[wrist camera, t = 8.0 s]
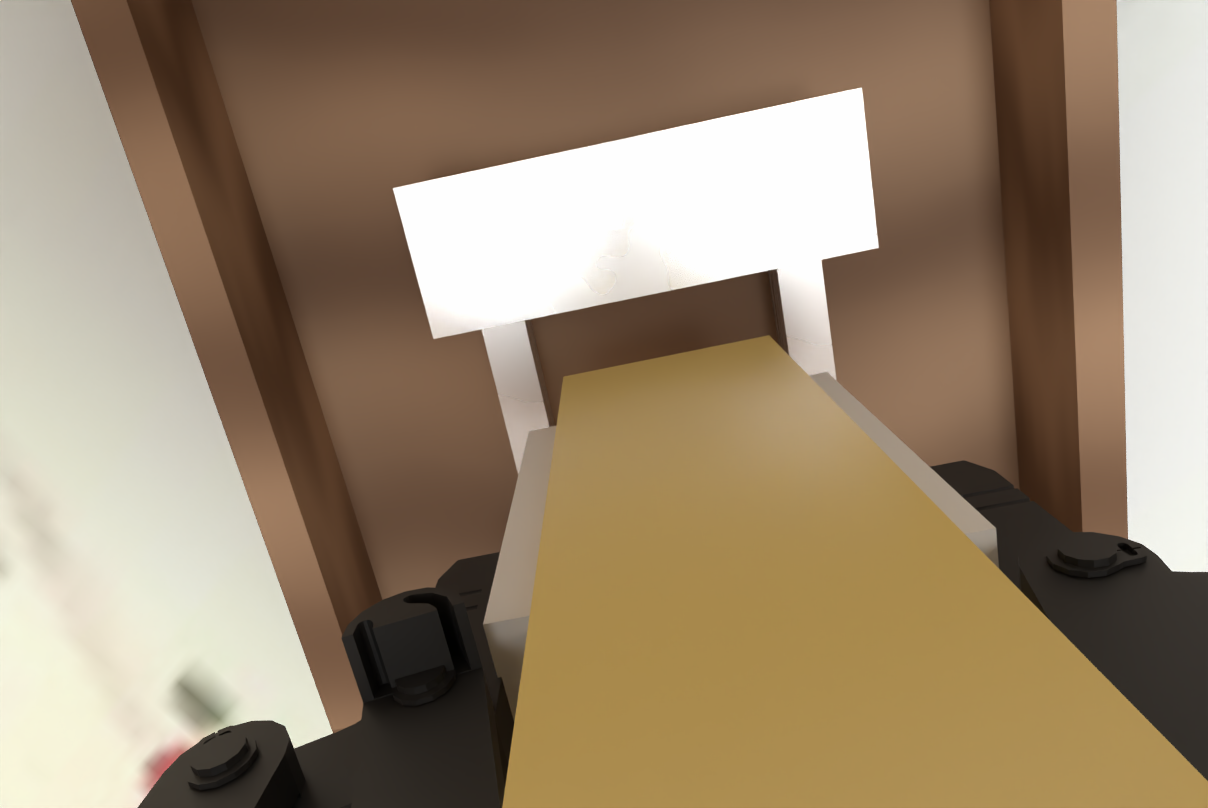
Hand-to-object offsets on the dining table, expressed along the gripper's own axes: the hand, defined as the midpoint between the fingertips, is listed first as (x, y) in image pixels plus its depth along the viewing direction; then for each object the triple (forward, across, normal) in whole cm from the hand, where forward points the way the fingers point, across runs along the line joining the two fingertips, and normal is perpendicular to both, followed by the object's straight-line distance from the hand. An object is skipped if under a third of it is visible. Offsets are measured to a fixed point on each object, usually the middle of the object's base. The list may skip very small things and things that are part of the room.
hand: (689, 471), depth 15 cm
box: (+6, 0, +3) cm, 7 cm away
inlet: (+6, 0, 0) cm, 6 cm away
